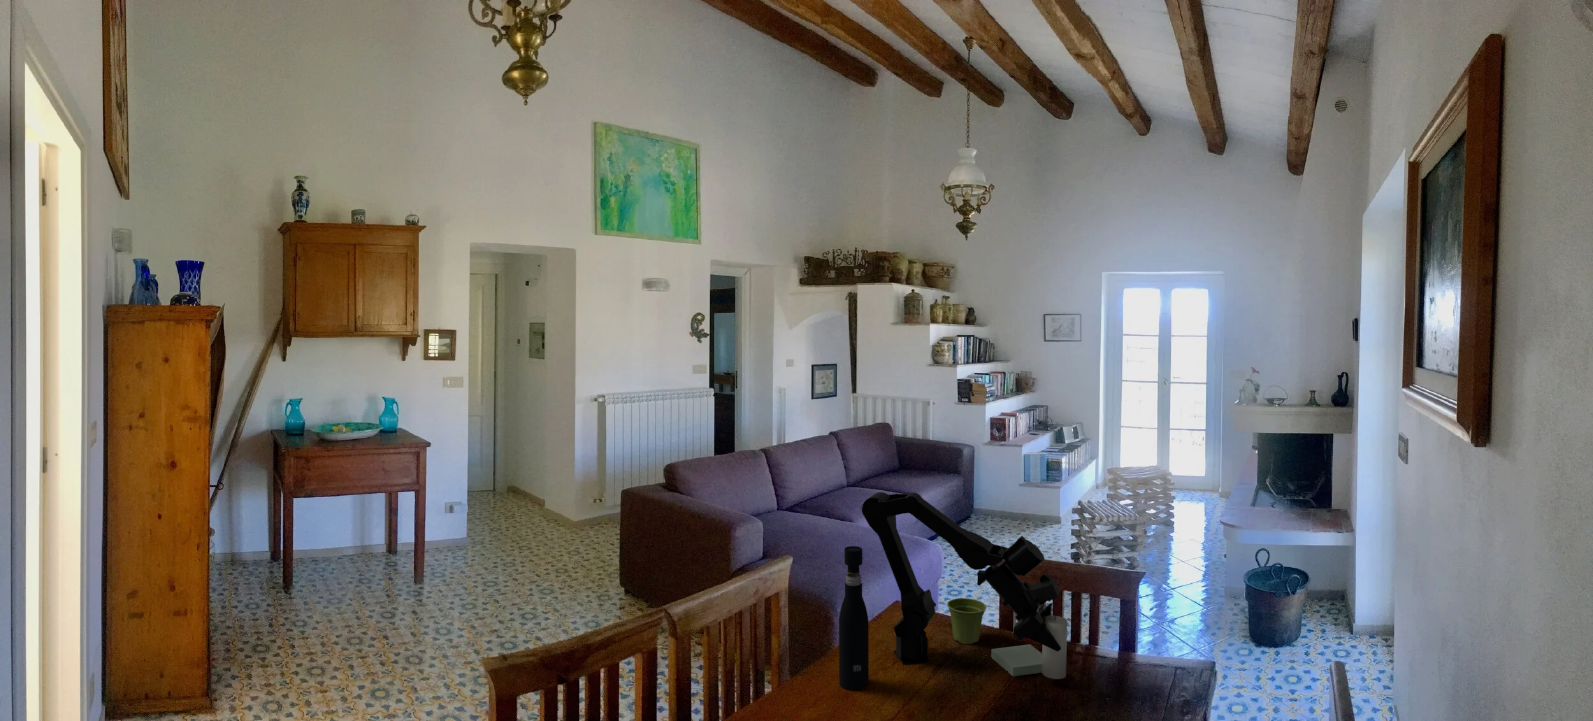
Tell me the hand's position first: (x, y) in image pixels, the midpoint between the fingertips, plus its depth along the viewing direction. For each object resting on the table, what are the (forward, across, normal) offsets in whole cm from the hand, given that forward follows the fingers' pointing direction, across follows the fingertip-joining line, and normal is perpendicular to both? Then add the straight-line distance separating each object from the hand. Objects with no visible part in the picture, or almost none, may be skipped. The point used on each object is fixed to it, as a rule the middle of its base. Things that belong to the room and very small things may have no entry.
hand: (1061, 645), depth 178 cm
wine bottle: (-22, -18, +35) cm, 46 cm away
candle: (+4, 0, +6) cm, 7 cm away
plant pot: (-11, +15, +23) cm, 30 cm away
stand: (0, +6, +13) cm, 14 cm away
